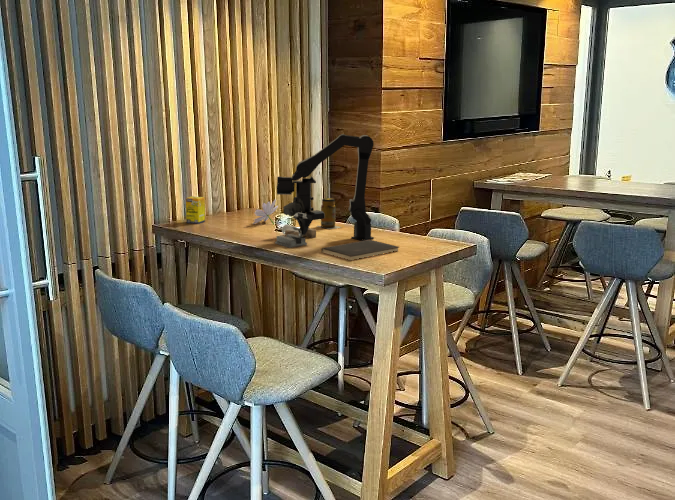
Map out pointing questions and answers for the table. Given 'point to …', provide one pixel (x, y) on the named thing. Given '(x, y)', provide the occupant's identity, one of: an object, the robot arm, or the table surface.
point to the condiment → (328, 213)
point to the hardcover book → (359, 249)
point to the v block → (290, 241)
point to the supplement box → (195, 210)
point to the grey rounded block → (309, 233)
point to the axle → (292, 228)
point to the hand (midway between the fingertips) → (303, 234)
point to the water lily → (265, 212)
